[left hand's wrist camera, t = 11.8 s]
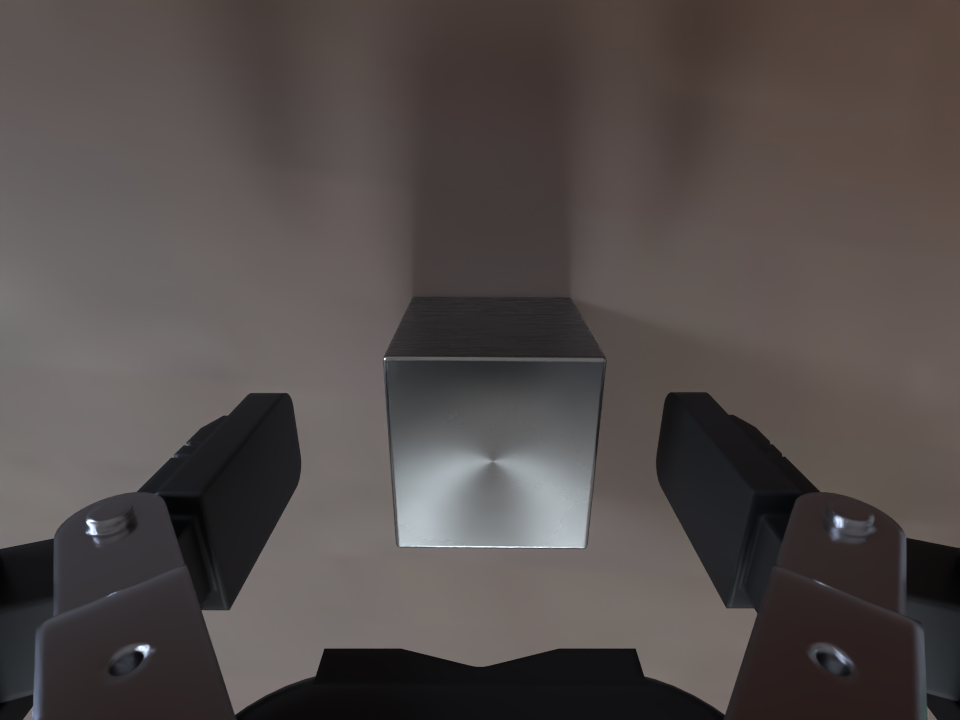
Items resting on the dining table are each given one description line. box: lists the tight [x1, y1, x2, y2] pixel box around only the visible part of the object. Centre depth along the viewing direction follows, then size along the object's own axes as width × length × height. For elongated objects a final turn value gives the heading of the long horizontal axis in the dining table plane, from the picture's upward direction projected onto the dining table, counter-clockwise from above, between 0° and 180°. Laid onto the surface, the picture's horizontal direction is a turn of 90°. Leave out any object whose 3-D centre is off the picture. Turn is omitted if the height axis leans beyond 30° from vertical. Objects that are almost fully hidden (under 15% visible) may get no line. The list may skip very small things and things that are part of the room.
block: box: [383, 297, 606, 549], centre depth 12 cm, size 4×4×4 cm
